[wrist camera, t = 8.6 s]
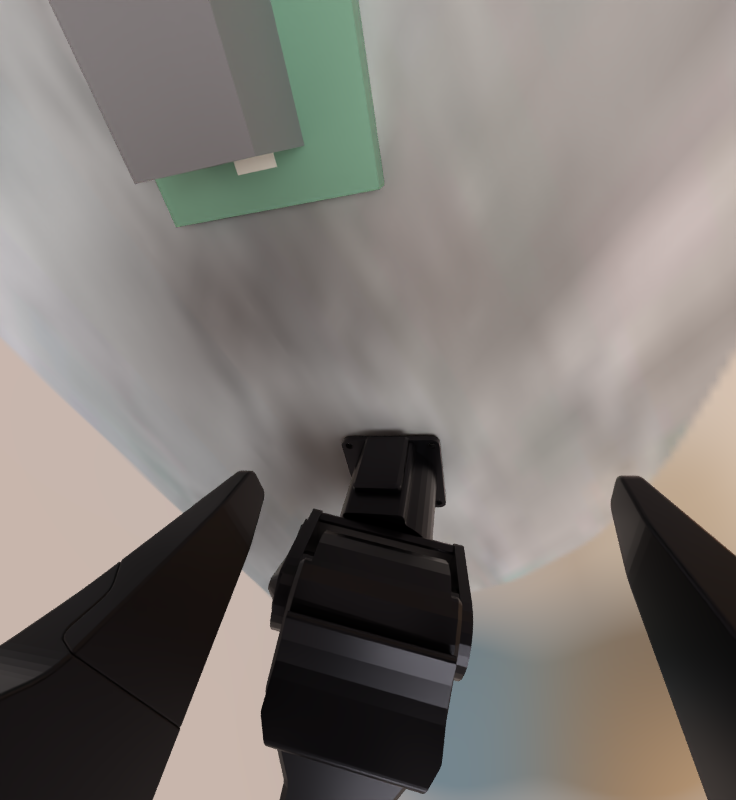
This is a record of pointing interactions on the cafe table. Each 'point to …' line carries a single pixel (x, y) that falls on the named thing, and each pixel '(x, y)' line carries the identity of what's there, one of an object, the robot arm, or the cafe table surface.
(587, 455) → the cafe table surface
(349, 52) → the board
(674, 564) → the robot arm
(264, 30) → the plug housing
